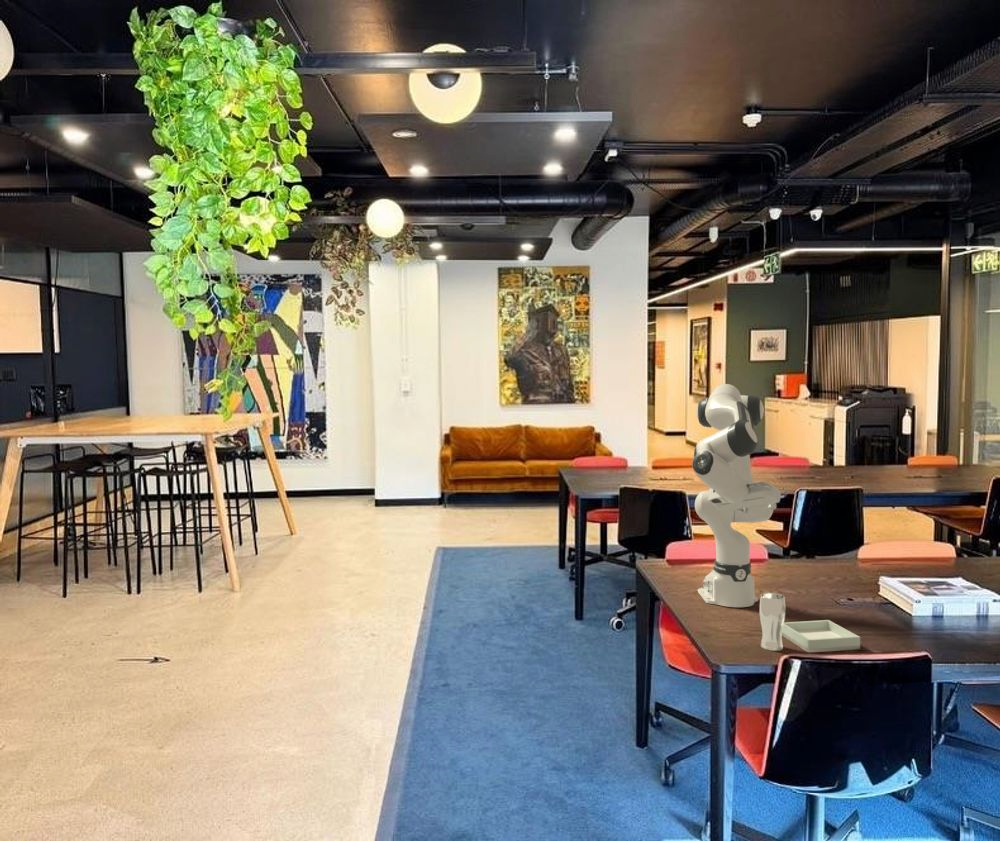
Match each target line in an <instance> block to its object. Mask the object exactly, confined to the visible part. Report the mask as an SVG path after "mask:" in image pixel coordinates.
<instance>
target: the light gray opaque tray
mask: <svg viewBox="0 0 1000 841" xmlns="http://www.w3.org/2000/svg"><path fill="white" fill-rule="evenodd" d="M782 637H784V638H785V639H787V640H788V641H790V642H791V643H793V644H794V645H796V646H798V648H801V649H802V650H803V651H805V652H807V653H820V652H836V651H837V652H838V651H850V650H851V651H853V650H861V636H859V635H858V634H855V633H853V631H850V630H848V629H846V628H844V627H842V626H841V625H840V624H836V623H835V622H833V621H831V620H830V619H823V620H822V619H820V620H807V621H806V620H805V621H804V620H803V621H789V622H784V625H783V630H782Z"/></svg>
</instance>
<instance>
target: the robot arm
mask: <svg viewBox="0 0 1000 841" xmlns="http://www.w3.org/2000/svg"><path fill="white" fill-rule="evenodd" d="M764 413H765V408H764V405H763V402H762V400H761V398H760V397H759V396H758V395H753V394H748V395H744V394H741V392H740V391H739V389H738V388H737V387H736V386H735V385H733V384H729V383H723V384H719V385H717V386H716V387H715V388H714V389H713V390H712V391H711V393H710V394H709V396H707V397H704V398H701V400H700V401H699V402H698V404H697V408H696V417H697V420H698V422H699V424H700V425H701V426H702V427H704V428H705V427H706V428H714V429H716V430H718V431H716V432H714V433H713V434H711V435H708V436H706V437H704V438H702V439H700V440H699V441H697V443H696V445H695V448H694V453H693V459H692V462H691V463H692V464H691V466H692V467H691V468H692V470H693V472H694V473H695V475H696V476H697V478H699V480H701V482H702V483H703V484H704V485H706V486H707V487H708V488H709V489H708V490H704V491H700V492H699V493H698V494H697V495H696V498H695V501H694V510H695V512H696V515H698V517H699V518H700V519H701V520H702V521H704V522H705V523H706V524H707V525H708V526H709V528H710V530H711V531H712V533H713V536H714V541H715V559H713V569H712V571H710V572H709V573H708V574H707V575H706V576H705V577H704V579H703V580H702V586H703V587H699V588H697V591H698V592H697V593H698V594H699V595H700V597H701V598H702V599H703V601H705V602H704V603H706V604H710V605H711V604H712V605H718V606H722V607H728V608H746V607H747V608H748V607H752V606H754V605H755V603H756V602H758V601H759V598H758V597H757V596H756V591H755V579H754V577H753V576H752V575H751V574H752V566H751V565H752V563H751V560H750V554H751V549H750V548H751V543H750V539H749V538H748V537H747V536H746V535H745V534H743V533H742V532H739V531H738V530H736V529H734V528H733V527H732V525H731V524H732V523H746V524H747V523H750V524H751V523H752V524H754V523H756V524H757V523H762V522H767V521H768V520H770V518H771V517H772V515H773V513H774V510H777V504H778V503H780V501H781V497H782V492H781V490H780V489H779V488H778V487H776V486H775V485H773V484H771V483H770V482H768V481H758V482H756V481H755V480H754V477H753V473H752V469H751V467H752V466H751V455H752V454H754V453H755V452H756V450H757V447H758V443H759V441H758V437H757V435H756V432H755V430H754V429H755V427H756V426H758V425H759V424H760V423H761V422H762V420H763V417H764Z"/></svg>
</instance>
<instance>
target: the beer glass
mask: <svg viewBox="0 0 1000 841" xmlns="http://www.w3.org/2000/svg"><path fill="white" fill-rule="evenodd" d="M758 611H759V620H760V625H761V633H762V634H761V641H760V647H761V649H763V650H766V651H771V652H778V651H783V649H784V646H783V638H782V637H783V636H782V630H783V625H784V623H785V620H786V597H785V596H784V595H783V594H781V593H776V592H762V593H760V598H759V610H758Z"/></svg>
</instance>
